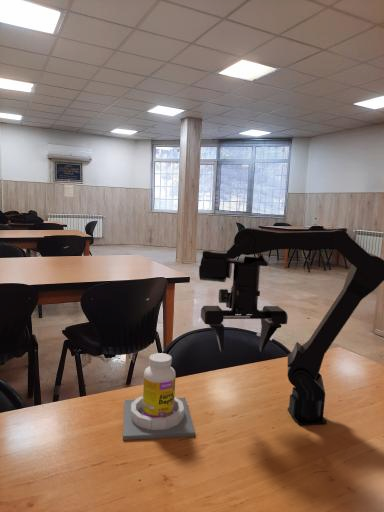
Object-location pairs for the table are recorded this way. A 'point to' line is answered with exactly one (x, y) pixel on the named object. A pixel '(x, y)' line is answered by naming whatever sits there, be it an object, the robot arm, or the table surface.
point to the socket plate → (156, 421)
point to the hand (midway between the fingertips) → (241, 351)
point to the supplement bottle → (159, 387)
